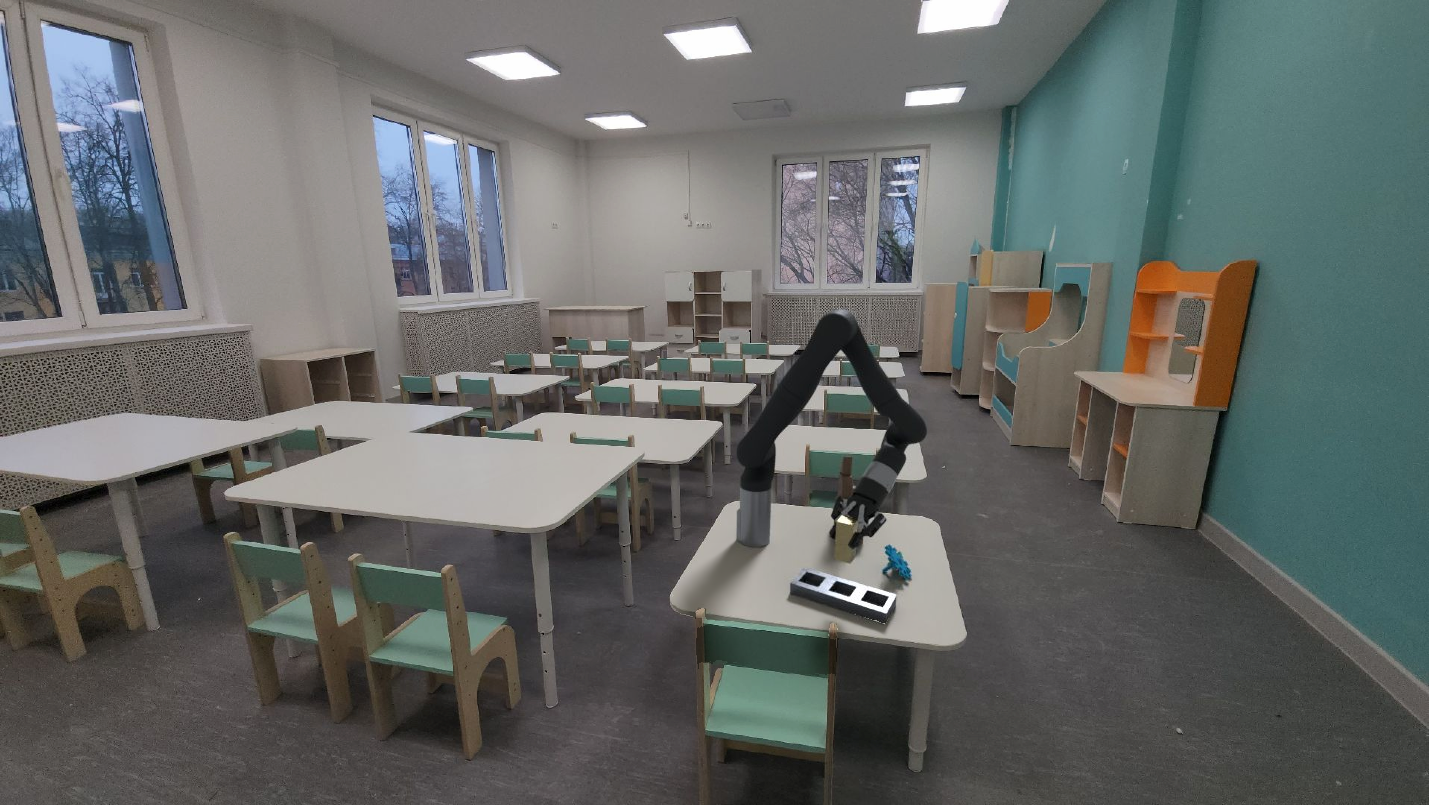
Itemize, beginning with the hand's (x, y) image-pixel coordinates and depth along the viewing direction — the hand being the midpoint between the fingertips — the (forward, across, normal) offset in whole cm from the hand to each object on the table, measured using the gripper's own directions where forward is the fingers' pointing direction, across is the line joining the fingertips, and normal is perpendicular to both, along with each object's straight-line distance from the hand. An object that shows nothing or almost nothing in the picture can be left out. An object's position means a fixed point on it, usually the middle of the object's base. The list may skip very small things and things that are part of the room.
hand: (841, 542), depth 138 cm
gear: (-5, +1, +28) cm, 28 cm away
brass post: (+2, 0, +5) cm, 5 cm away
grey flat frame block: (+10, 0, +12) cm, 16 cm away
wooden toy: (-11, -23, +34) cm, 42 cm away
